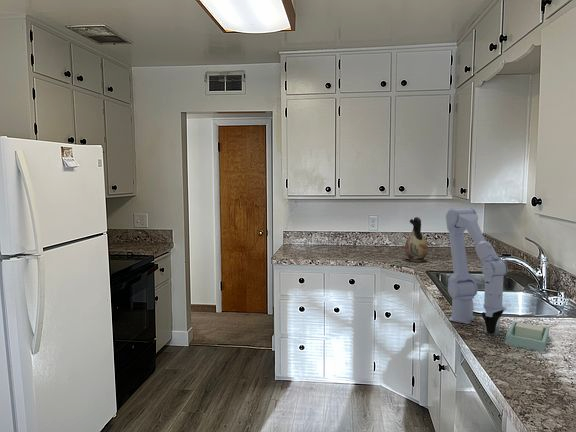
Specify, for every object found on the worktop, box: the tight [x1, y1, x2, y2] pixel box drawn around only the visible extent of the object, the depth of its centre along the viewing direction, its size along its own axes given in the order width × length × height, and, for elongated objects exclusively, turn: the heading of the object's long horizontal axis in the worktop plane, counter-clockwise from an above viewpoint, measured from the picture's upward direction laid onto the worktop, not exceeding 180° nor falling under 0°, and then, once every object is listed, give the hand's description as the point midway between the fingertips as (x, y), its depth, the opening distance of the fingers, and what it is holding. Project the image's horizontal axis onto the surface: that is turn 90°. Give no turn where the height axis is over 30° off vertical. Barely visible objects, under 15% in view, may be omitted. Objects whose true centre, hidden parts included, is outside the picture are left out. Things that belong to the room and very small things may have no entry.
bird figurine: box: [404, 216, 429, 263], centre depth 281 cm, size 17×15×30 cm
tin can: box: [484, 317, 501, 336], centre depth 148 cm, size 5×5×7 cm
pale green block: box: [515, 321, 545, 341], centre depth 145 cm, size 5×8×4 cm, turn 54°
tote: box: [504, 320, 550, 352], centre depth 142 cm, size 16×11×4 cm
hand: (492, 331), depth 148 cm, fingers closed on tin can, 5 cm apart
